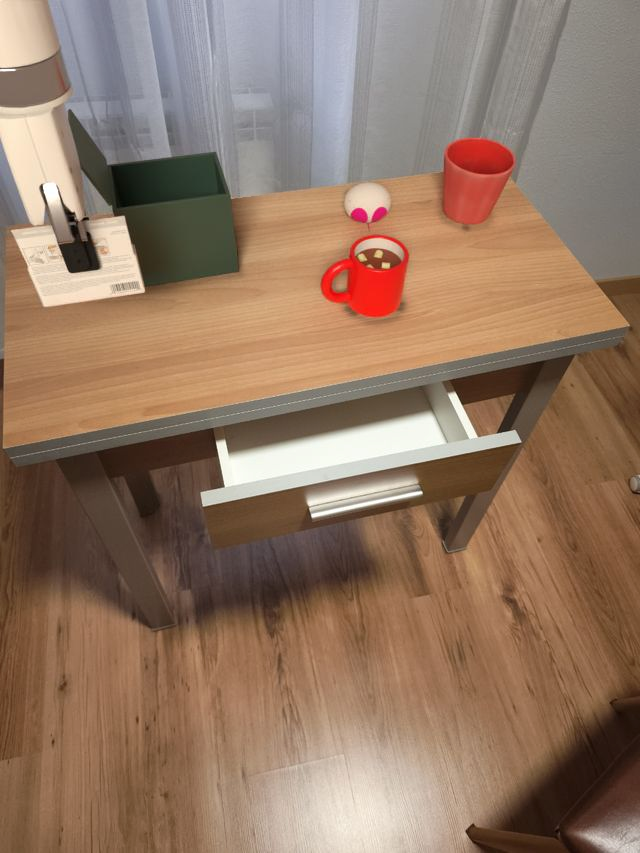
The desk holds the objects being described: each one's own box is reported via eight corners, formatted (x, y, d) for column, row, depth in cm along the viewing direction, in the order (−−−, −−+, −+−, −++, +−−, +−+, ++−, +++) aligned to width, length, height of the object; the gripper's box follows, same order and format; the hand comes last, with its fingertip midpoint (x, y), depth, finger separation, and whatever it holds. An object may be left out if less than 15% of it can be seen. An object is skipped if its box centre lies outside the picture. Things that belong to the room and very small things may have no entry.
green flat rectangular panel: (112, 205, 71) (109, 206, 71) (106, 159, 77) (104, 160, 77) (73, 153, 65) (70, 155, 65) (70, 108, 71) (67, 110, 71)
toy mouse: (344, 243, 94) (347, 228, 87) (340, 195, 94) (343, 176, 87) (389, 240, 94) (396, 225, 88) (386, 192, 94) (392, 174, 88)
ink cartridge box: (43, 295, 64) (10, 216, 56) (144, 281, 66) (124, 203, 59) (43, 309, 63) (8, 229, 55) (146, 294, 65) (126, 215, 57)
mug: (311, 292, 82) (312, 246, 75) (387, 275, 84) (394, 229, 78) (330, 329, 78) (333, 284, 71) (409, 309, 80) (419, 264, 74)
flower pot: (457, 238, 90) (472, 181, 82) (421, 201, 96) (432, 144, 88) (511, 222, 93) (530, 165, 85) (473, 187, 99) (488, 131, 91)
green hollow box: (136, 288, 81) (112, 210, 71) (129, 242, 88) (106, 164, 77) (239, 271, 84) (230, 194, 74) (225, 228, 90) (216, 151, 80)
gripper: (-24, 38, 50) (47, 222, 65) (-39, 126, 41) (47, 316, 56) (65, 33, 52) (115, 214, 66) (70, 117, 43) (126, 305, 57)
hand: (83, 259), depth 61 cm, fingers closed on ink cartridge box, 2 cm apart
